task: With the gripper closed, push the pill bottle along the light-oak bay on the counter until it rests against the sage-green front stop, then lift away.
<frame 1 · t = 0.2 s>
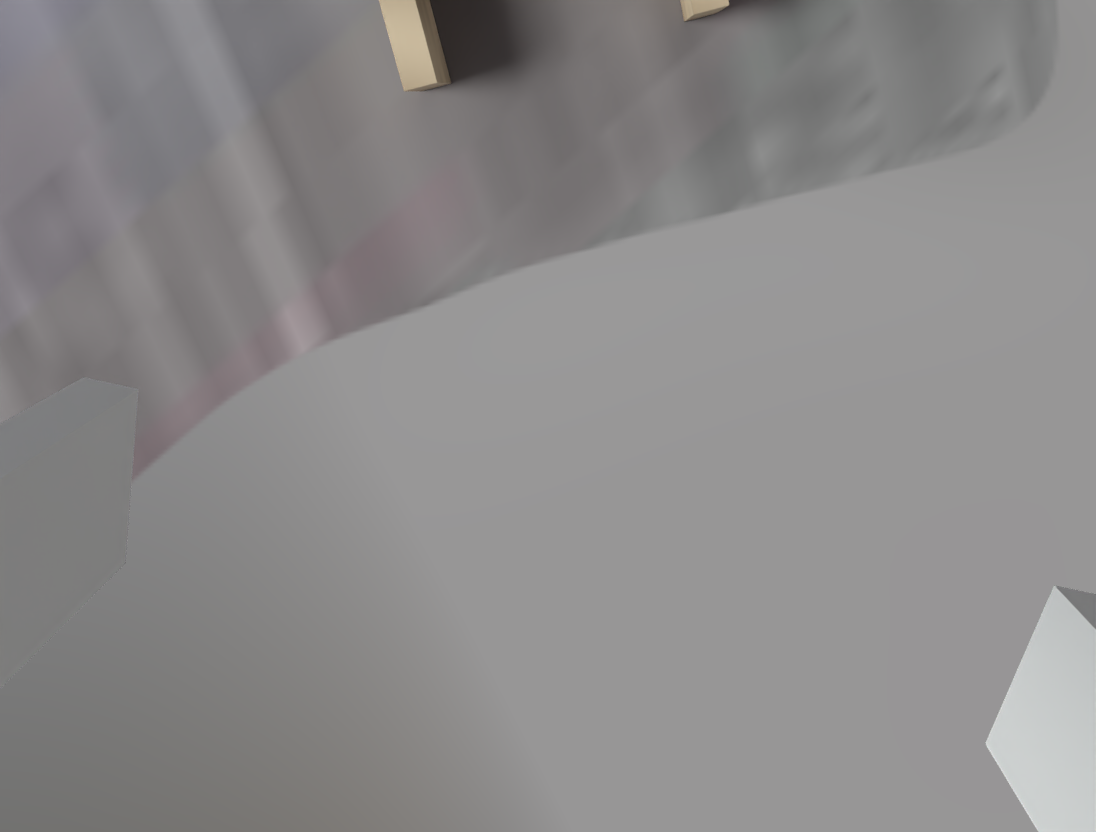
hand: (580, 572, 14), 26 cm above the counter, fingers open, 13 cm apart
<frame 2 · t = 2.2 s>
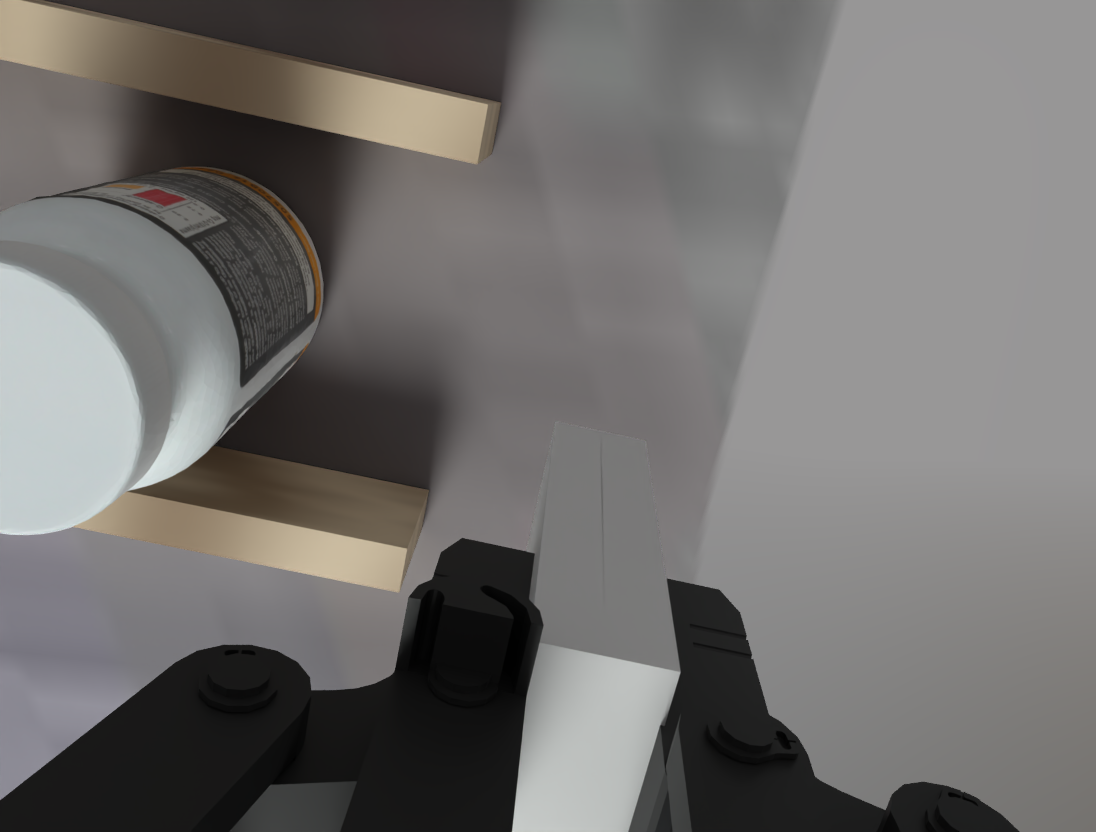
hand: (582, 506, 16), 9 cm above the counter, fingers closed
pill bottle: (221, 278, 24), resting in bay
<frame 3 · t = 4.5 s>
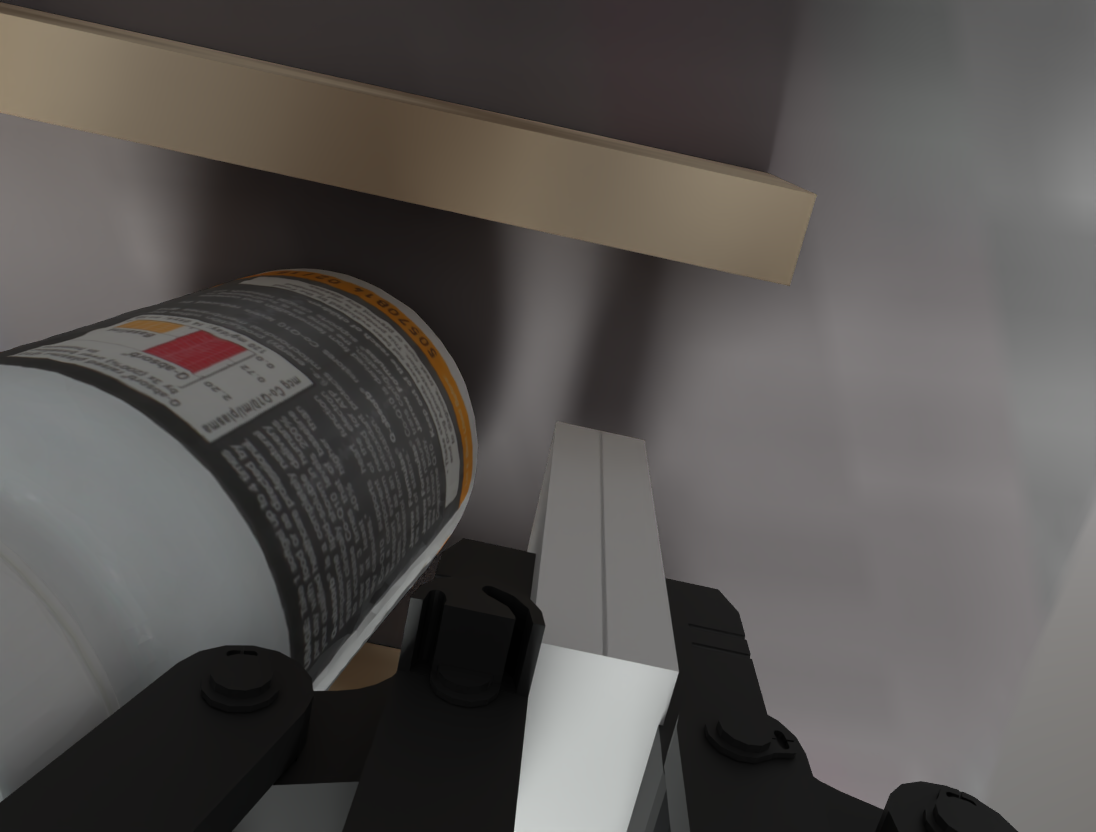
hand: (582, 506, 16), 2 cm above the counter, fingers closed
bay: (12, 347, 17), on the counter
pill bottle: (338, 423, 17), resting in bay, touching gripper
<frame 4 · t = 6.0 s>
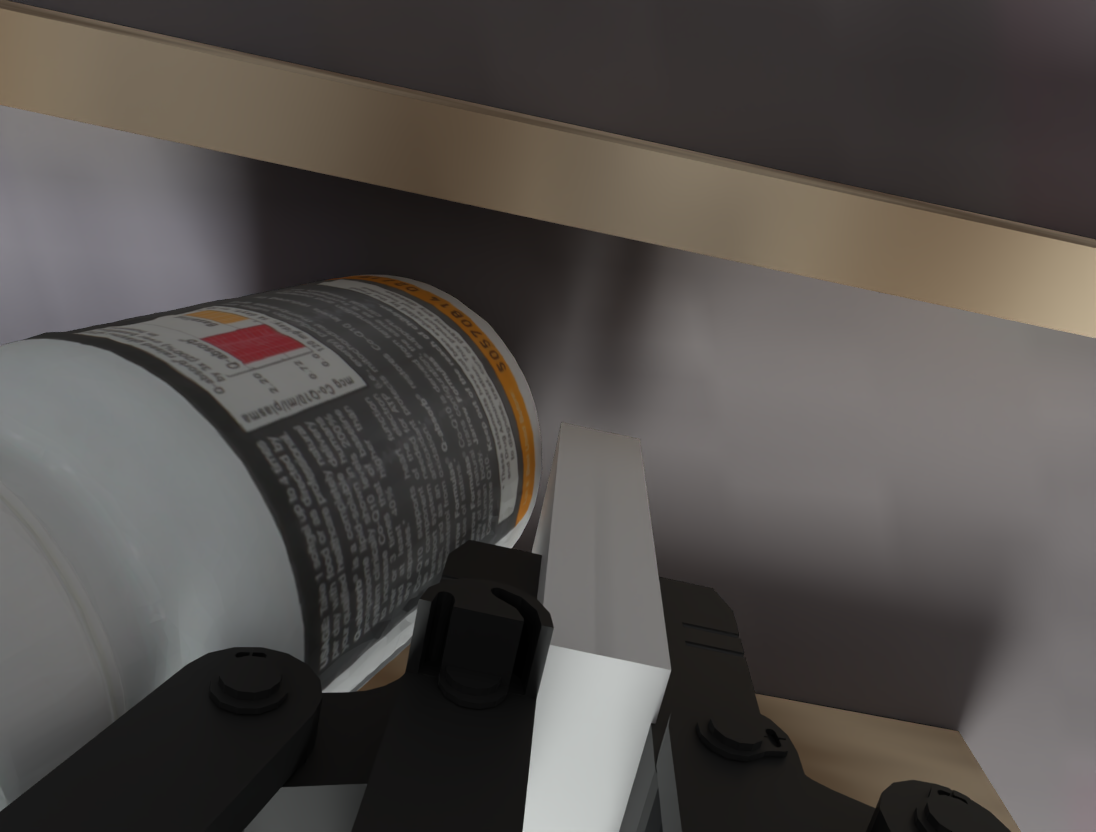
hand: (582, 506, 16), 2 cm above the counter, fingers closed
bay: (417, 417, 18), on the counter
pill bottle: (410, 431, 17), point 1 cm above the counter, touching gripper
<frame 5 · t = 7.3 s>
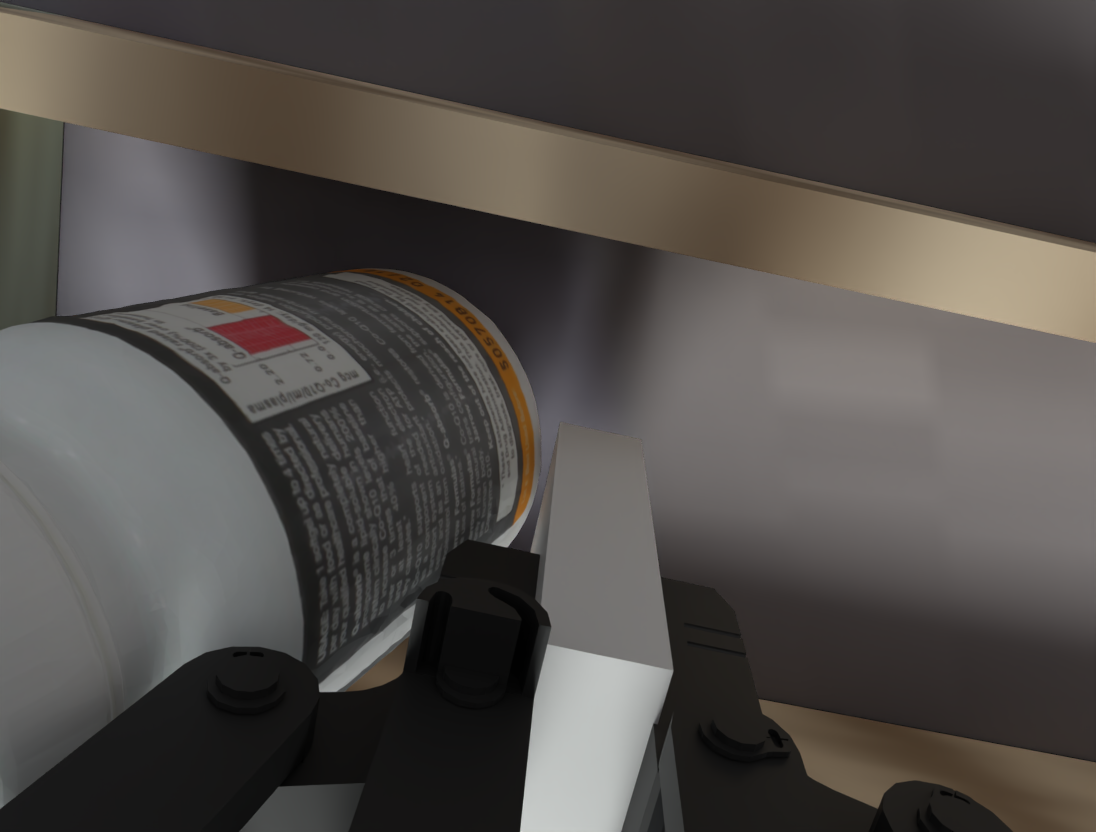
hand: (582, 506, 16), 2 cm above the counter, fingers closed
bay: (642, 466, 18), on the counter
pill bottle: (409, 426, 17), point 1 cm above the counter, touching gripper
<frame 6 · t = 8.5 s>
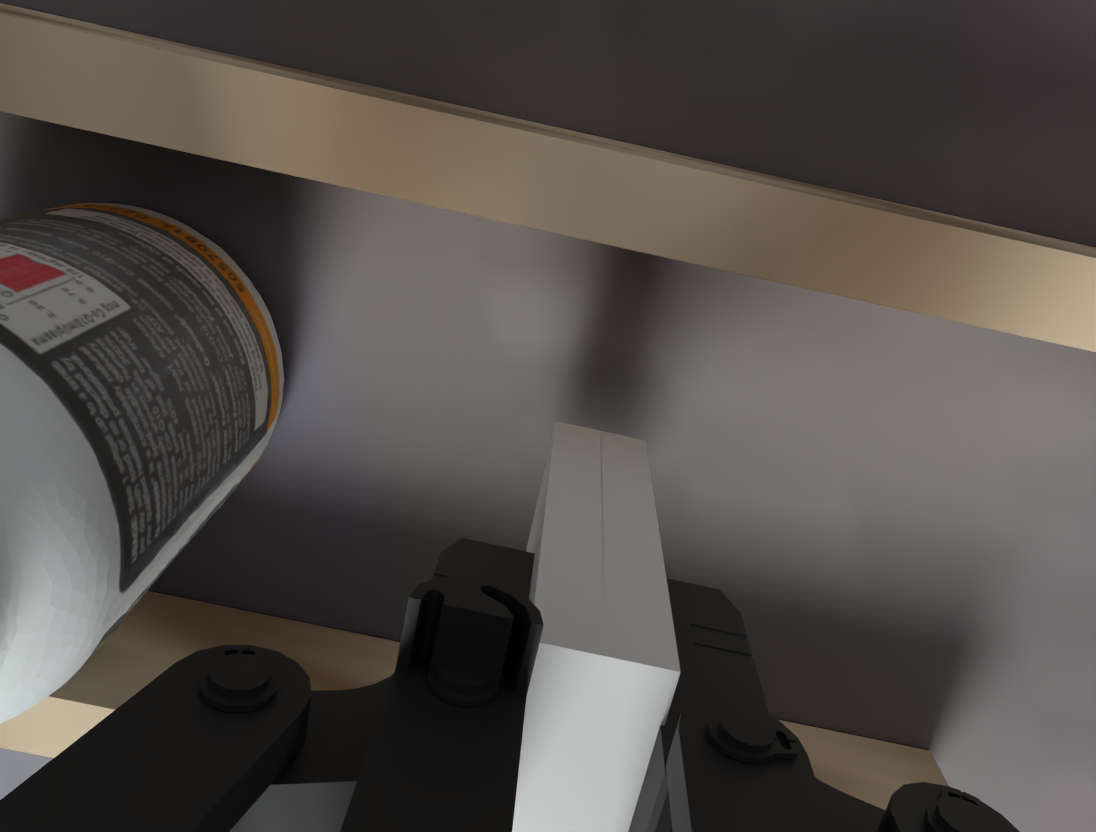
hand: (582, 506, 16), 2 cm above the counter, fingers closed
bay: (368, 418, 17), on the counter
pill bottle: (143, 356, 17), resting in bay
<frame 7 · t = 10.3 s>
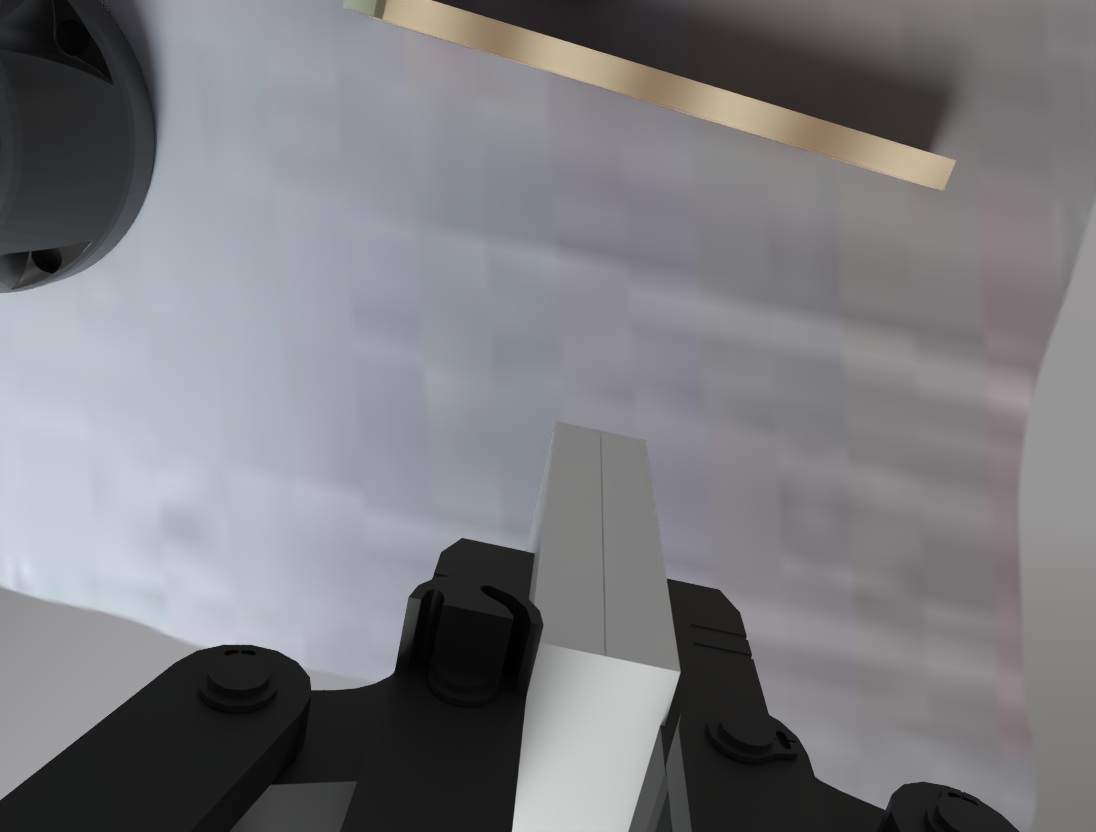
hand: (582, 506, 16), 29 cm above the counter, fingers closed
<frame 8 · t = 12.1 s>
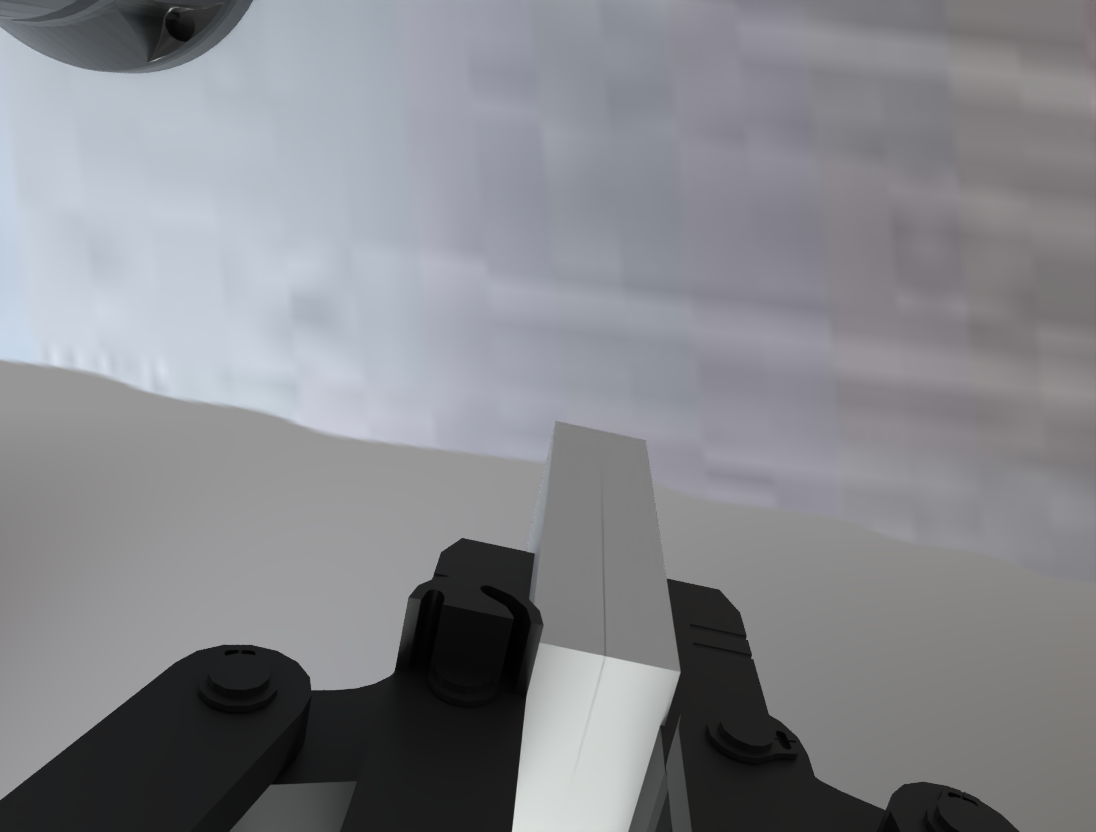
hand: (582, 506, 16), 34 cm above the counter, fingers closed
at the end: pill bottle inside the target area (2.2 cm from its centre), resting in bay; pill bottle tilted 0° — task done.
